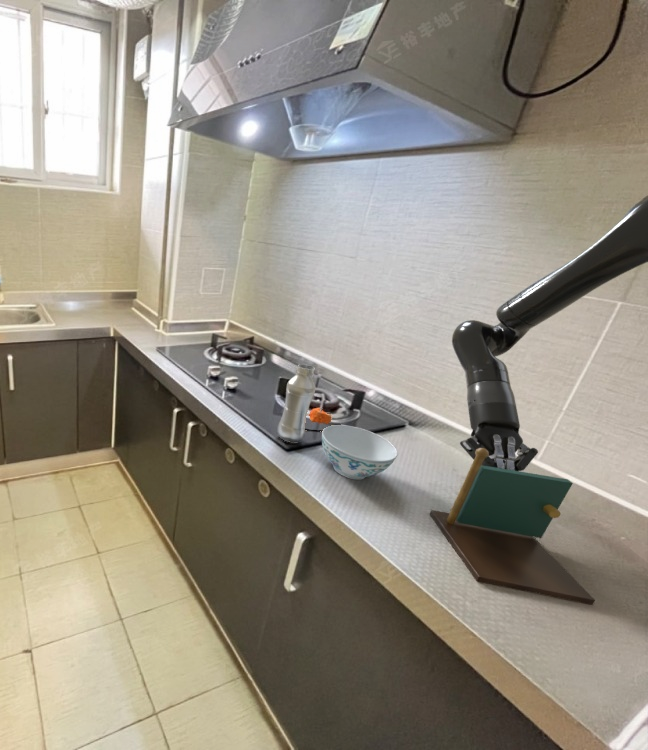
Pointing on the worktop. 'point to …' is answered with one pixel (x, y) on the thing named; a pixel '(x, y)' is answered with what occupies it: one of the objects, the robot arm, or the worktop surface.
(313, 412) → the rock
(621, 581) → the worktop surface
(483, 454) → the door stand
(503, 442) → the robot arm
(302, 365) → the plastic bottle
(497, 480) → the door
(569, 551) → the worktop surface
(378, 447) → the chinaware
